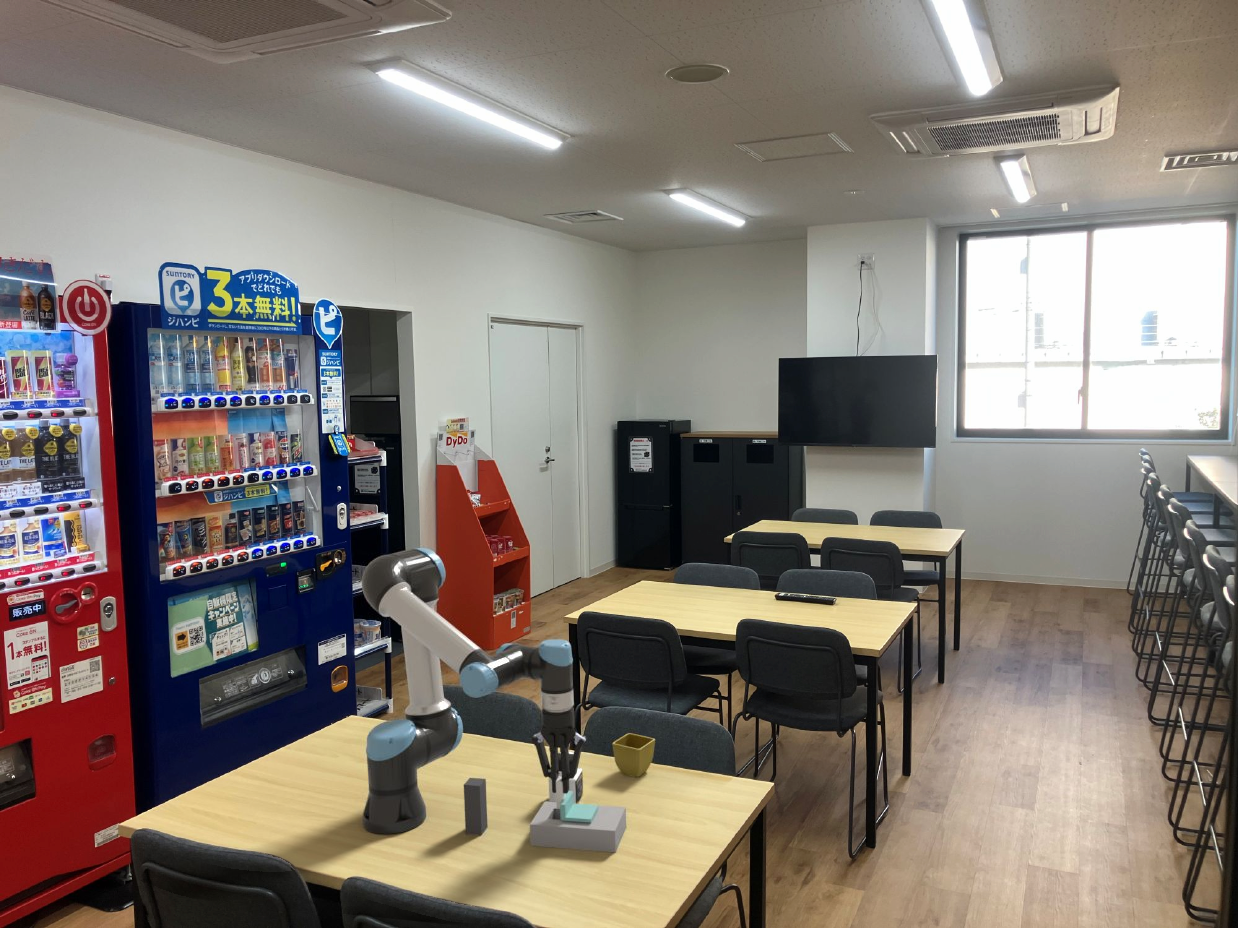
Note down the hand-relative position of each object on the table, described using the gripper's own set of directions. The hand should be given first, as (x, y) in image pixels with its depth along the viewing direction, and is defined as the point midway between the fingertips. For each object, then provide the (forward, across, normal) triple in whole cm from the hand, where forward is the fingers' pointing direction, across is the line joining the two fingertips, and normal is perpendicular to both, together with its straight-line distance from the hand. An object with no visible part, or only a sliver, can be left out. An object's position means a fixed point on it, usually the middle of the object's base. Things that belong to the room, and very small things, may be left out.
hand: (561, 805), depth 215 cm
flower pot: (+7, +10, +37) cm, 39 cm away
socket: (+7, +4, 0) cm, 8 cm away
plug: (+7, -21, -1) cm, 22 cm away
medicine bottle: (+7, -4, +18) cm, 20 cm away
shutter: (+2, +4, 0) cm, 5 cm away
